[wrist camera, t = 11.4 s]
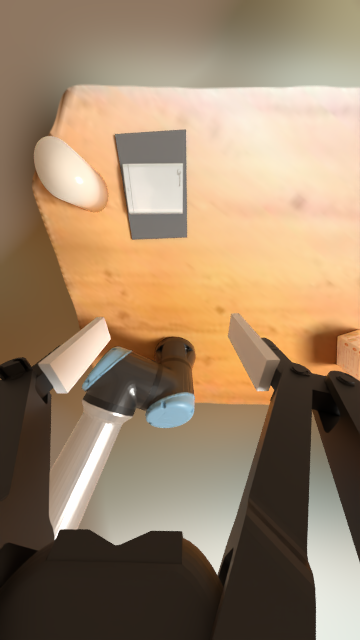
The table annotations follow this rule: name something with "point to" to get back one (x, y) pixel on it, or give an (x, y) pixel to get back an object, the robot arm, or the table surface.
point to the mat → (152, 151)
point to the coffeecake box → (349, 353)
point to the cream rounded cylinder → (69, 175)
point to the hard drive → (154, 188)
